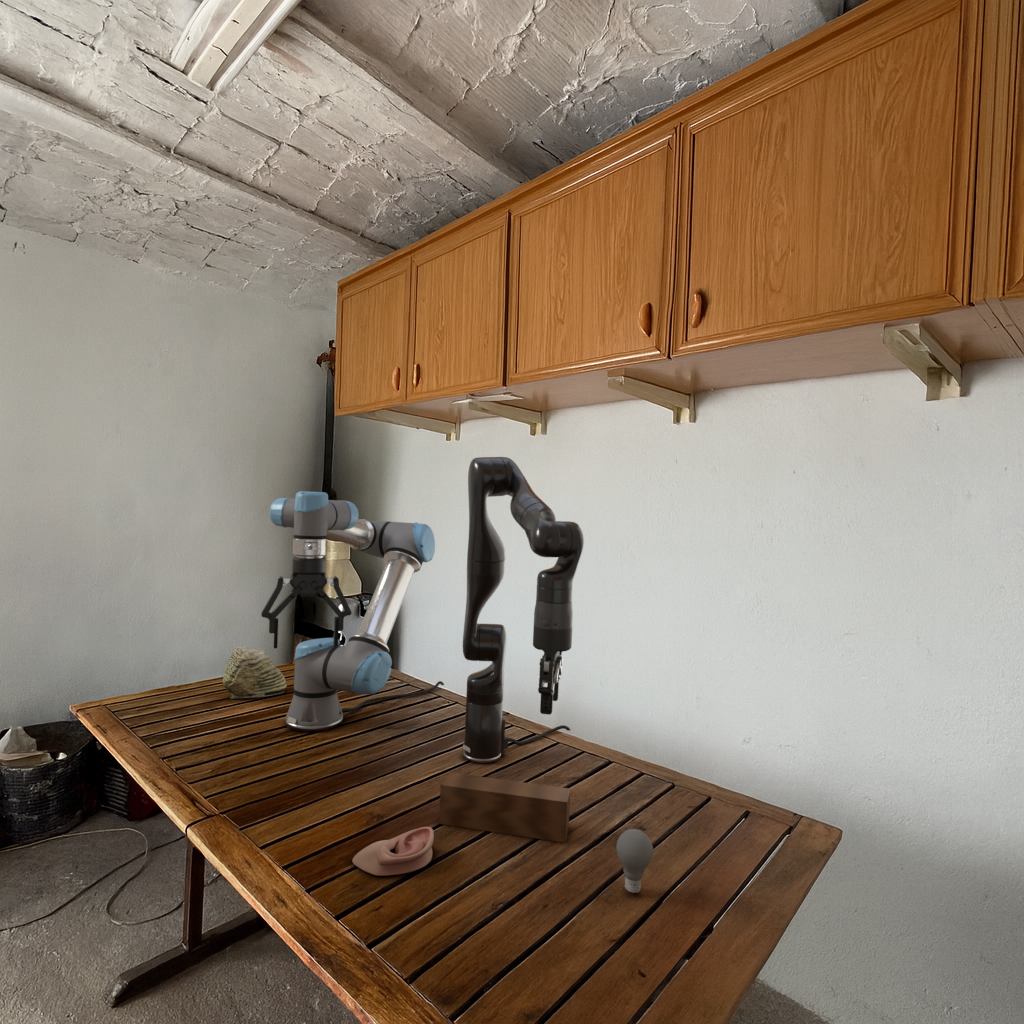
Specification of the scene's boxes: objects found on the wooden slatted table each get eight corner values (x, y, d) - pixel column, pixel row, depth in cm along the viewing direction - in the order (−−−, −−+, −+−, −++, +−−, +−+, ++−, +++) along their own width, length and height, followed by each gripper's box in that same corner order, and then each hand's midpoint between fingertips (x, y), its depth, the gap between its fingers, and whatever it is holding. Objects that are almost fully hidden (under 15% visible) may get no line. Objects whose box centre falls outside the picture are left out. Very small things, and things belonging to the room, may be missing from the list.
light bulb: (610, 879, 108) (613, 822, 108) (644, 879, 109) (647, 822, 109) (619, 902, 102) (622, 840, 102) (655, 901, 103) (658, 840, 103)
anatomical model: (344, 847, 108) (373, 814, 119) (343, 870, 108) (372, 835, 119) (418, 859, 105) (440, 825, 116) (417, 883, 105) (439, 846, 116)
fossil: (218, 695, 195) (220, 647, 195) (278, 685, 208) (279, 640, 207) (228, 703, 189) (230, 653, 188) (289, 692, 201) (290, 645, 201)
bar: (438, 823, 125) (440, 784, 125) (447, 809, 131) (449, 772, 130) (565, 843, 120) (567, 802, 120) (568, 827, 126) (570, 788, 125)
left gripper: (252, 557, 142) (248, 652, 142) (365, 558, 151) (361, 647, 151) (252, 554, 149) (249, 644, 149) (360, 555, 158) (357, 640, 158)
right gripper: (568, 632, 115) (564, 721, 115) (576, 618, 129) (572, 697, 129) (527, 629, 117) (523, 716, 117) (539, 616, 131) (536, 694, 131)
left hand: (306, 645), depth 150 cm, fingers open, 13 cm apart
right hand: (549, 706), depth 123 cm, fingers open, 8 cm apart
